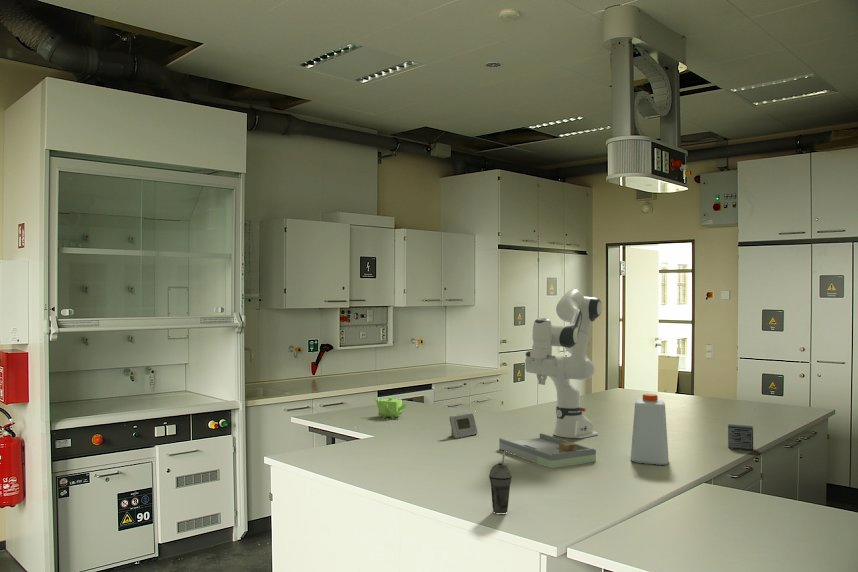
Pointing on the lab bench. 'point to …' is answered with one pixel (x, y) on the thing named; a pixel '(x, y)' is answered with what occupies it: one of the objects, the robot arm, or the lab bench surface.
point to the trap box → (548, 451)
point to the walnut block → (567, 447)
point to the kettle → (390, 407)
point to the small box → (740, 437)
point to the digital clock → (463, 425)
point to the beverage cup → (500, 486)
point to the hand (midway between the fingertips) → (541, 384)
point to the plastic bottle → (649, 431)
